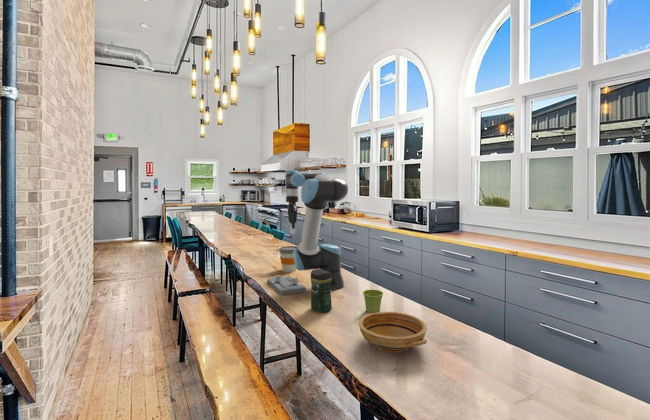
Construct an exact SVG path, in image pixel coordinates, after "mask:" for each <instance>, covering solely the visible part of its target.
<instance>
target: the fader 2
mask: <svg viewBox="0 0 650 420" xmlns="http://www.w3.org/2000/svg"><path fill="white" fill-rule="evenodd" d="M298 282H299V281H298V277H295V276H294V277H292V278H291V284H292V285H293V284H298Z"/></svg>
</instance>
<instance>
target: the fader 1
mask: <svg viewBox="0 0 650 420" xmlns="http://www.w3.org/2000/svg"><path fill="white" fill-rule="evenodd" d="M281 277H282V276H281V275H279V274H278V275H277V274H276V275H274V276H273V278H275V282H281Z"/></svg>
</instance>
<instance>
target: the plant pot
mask: <svg viewBox="0 0 650 420" xmlns="http://www.w3.org/2000/svg"><path fill="white" fill-rule="evenodd" d="M362 294H363V298H364V304H365V312H367V314H369V313H377V312H381V311H380V310H381V304H382V298H383V295H384V292H383V291H382V290H379V289H365V290H363V291H362Z"/></svg>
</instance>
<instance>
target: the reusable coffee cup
mask: <svg viewBox="0 0 650 420" xmlns="http://www.w3.org/2000/svg"><path fill="white" fill-rule="evenodd" d="M295 249H298V246H291V245H289V246H288V245H287V246H281V247H280V248H279V254H280V255H279V257H280V259H279V260H280V263H281V267H282V271H283V272H284V271H285V272H284V273H292V271H294V272H296V271H297V268H296V266H295V263H294V258H293V251H294V250H295Z"/></svg>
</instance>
